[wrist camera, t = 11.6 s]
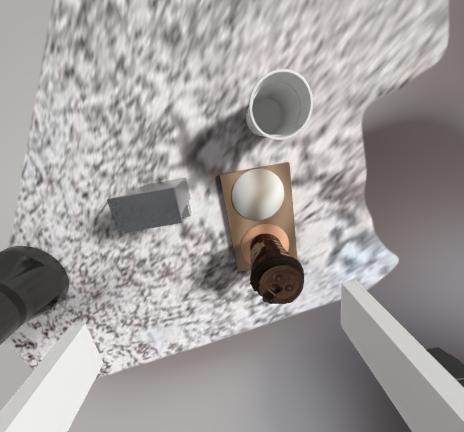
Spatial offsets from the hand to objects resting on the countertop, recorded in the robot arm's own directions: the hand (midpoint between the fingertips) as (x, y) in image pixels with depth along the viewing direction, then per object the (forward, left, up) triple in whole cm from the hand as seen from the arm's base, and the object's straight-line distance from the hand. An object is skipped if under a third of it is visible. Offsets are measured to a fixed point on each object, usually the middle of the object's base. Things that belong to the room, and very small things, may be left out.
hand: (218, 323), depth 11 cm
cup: (+10, +12, -33) cm, 36 cm away
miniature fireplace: (-10, +1, -33) cm, 34 cm away
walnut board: (+7, -7, -33) cm, 34 cm away
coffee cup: (+7, -13, -31) cm, 35 cm away
